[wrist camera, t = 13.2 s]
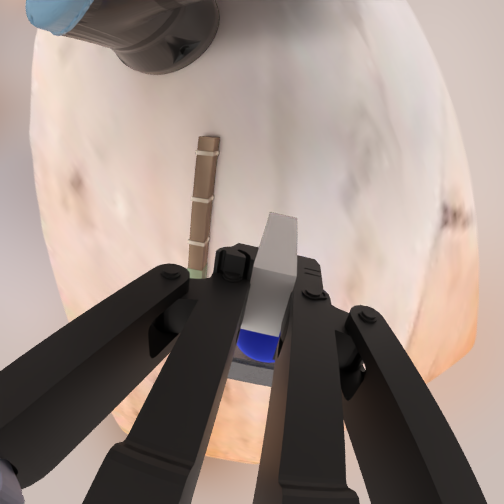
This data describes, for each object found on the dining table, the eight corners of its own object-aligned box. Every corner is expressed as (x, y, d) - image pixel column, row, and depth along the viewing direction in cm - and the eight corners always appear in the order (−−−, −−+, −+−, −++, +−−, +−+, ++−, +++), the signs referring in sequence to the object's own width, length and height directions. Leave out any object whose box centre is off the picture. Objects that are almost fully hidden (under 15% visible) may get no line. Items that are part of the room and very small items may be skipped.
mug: (243, 246, 41) (228, 280, 32) (313, 291, 42) (315, 334, 33) (215, 287, 44) (195, 326, 35) (280, 327, 46) (275, 372, 36)
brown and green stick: (190, 323, 48) (185, 333, 46) (203, 136, 36) (197, 136, 33) (203, 327, 48) (198, 336, 45) (220, 138, 36) (215, 138, 33)
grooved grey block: (206, 347, 50) (197, 370, 44) (208, 327, 48) (197, 350, 42) (296, 365, 48) (295, 390, 43) (302, 346, 46) (302, 371, 41)
